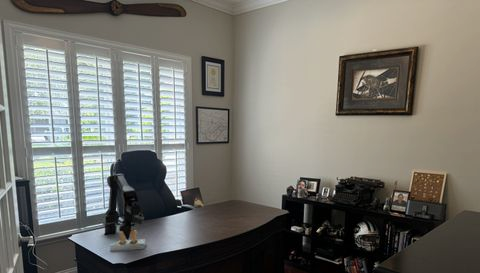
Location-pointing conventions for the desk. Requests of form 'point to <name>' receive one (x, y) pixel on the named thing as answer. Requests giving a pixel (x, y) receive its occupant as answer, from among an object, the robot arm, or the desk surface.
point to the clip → (132, 233)
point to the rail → (127, 245)
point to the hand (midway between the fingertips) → (128, 238)
